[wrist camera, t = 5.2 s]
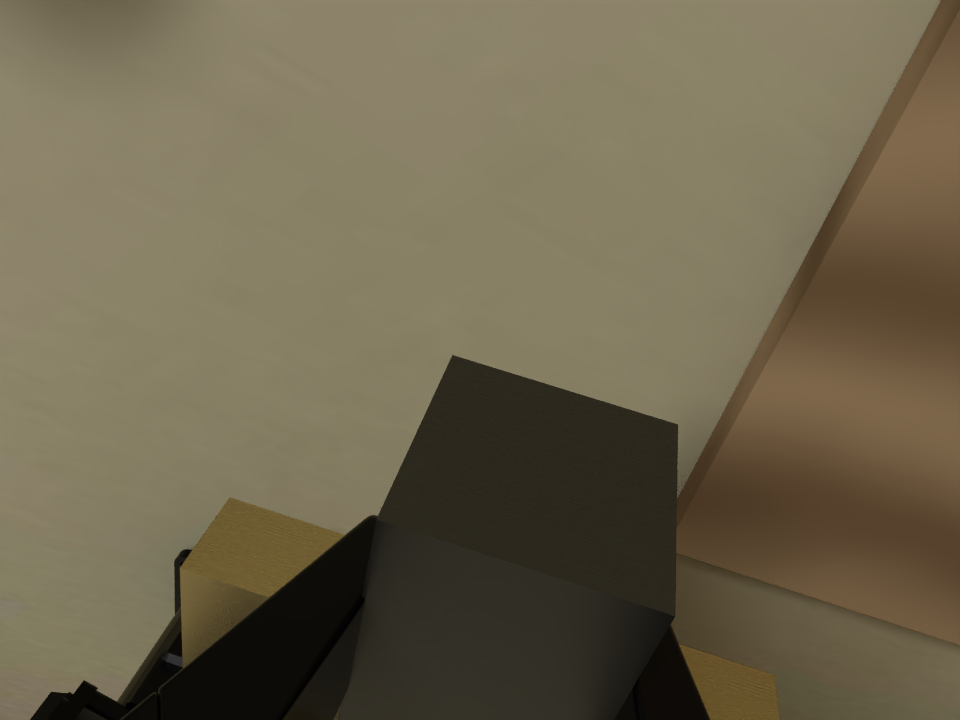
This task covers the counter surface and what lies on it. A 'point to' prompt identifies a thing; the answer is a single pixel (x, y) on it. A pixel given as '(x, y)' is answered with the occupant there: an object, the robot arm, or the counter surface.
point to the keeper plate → (858, 385)
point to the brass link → (494, 564)
